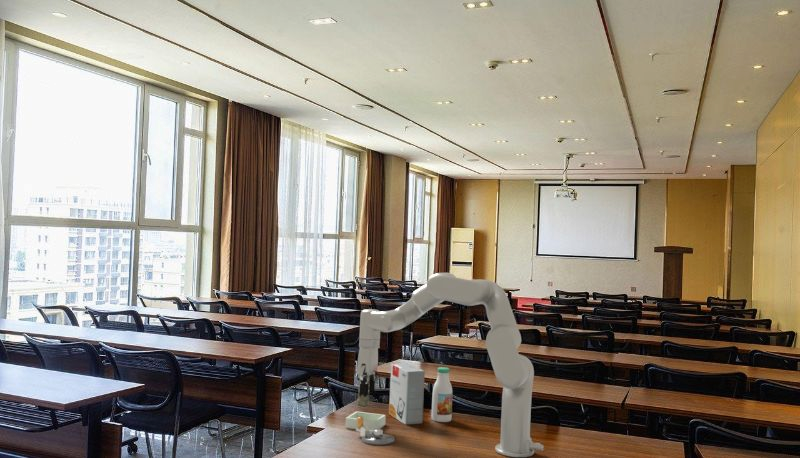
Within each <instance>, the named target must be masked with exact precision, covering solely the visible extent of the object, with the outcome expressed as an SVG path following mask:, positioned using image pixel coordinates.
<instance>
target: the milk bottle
mask: <svg viewBox="0 0 800 458" xmlns="http://www.w3.org/2000/svg"><path fill="white" fill-rule="evenodd" d="M449 375H450V368H449V367H447V366H446V367H442V366H439V367H437V377H436V380H435V382H434V384H433V388H432V397H431V398H432V399H431V401H432V402H431V420H432V421H434V422H438V423H449V422H451V421H452V415H453V408H452V407H453V387H452V383H451V381H450V376H449Z"/></svg>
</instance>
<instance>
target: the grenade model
mask: <svg viewBox="0 0 800 458" xmlns="http://www.w3.org/2000/svg"><path fill="white" fill-rule="evenodd" d="M374 372H375V373H376V375H374V376H375V377H376V376H378V371H377V372H376V371H375V370H374ZM364 375H367V373H364ZM357 376H358V377H359V375H357ZM374 376H373V374H372V375H370V376H369V379H368V384H369V386H370V377H372V379H374ZM365 379H366V377H365ZM359 392H360V378H359V379H358V395H357V396H358V397H357V399H356V401H355V402H356V405H357V406H358V407H369V406H370V405H371V400H370V391H369V389H368V395H360V394H359Z"/></svg>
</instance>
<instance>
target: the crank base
mask: <svg viewBox="0 0 800 458" xmlns="http://www.w3.org/2000/svg"><path fill="white" fill-rule="evenodd" d="M359 434H360V435H359V436H360V437H361V442H362V443H363V444H365V445H371V446H388V445H392V444H393V443H394V442H395V437H394V436H392V435H391V434H389V433H383V437H381V438H376V437H373V434H368V427H364V426H363V427H361V431H360V432H359Z"/></svg>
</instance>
